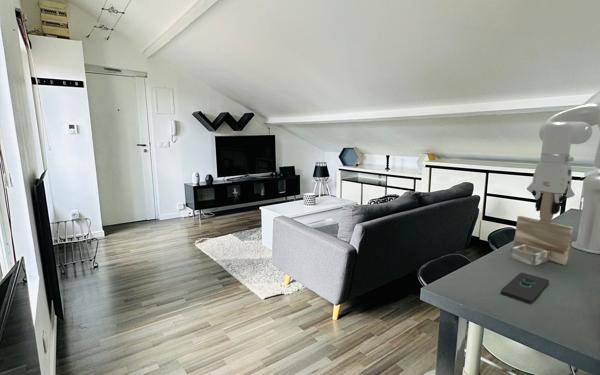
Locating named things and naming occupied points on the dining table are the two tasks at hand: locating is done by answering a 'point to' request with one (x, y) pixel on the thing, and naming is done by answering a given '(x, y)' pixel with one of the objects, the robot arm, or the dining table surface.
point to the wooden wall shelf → (540, 242)
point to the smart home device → (525, 287)
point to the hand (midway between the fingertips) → (546, 211)
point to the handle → (546, 206)
